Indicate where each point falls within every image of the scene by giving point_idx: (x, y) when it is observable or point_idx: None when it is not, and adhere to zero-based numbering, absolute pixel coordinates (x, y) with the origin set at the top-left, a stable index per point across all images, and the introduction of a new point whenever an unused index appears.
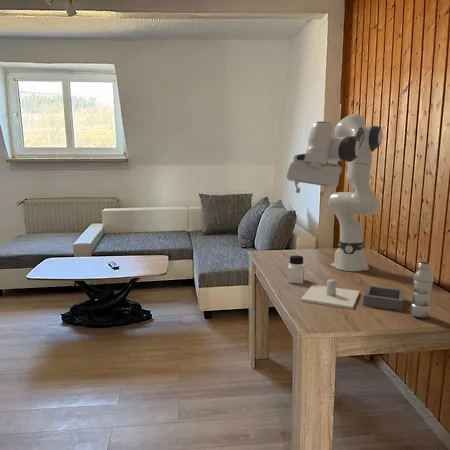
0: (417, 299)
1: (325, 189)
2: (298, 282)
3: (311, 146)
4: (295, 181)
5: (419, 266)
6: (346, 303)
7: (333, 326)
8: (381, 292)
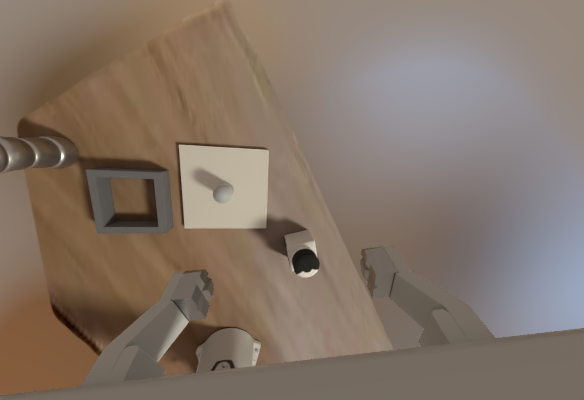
0: (35, 140)
1: (140, 325)
2: (291, 233)
3: None
4: (476, 323)
5: None
6: (192, 156)
7: (192, 50)
8: (142, 223)
